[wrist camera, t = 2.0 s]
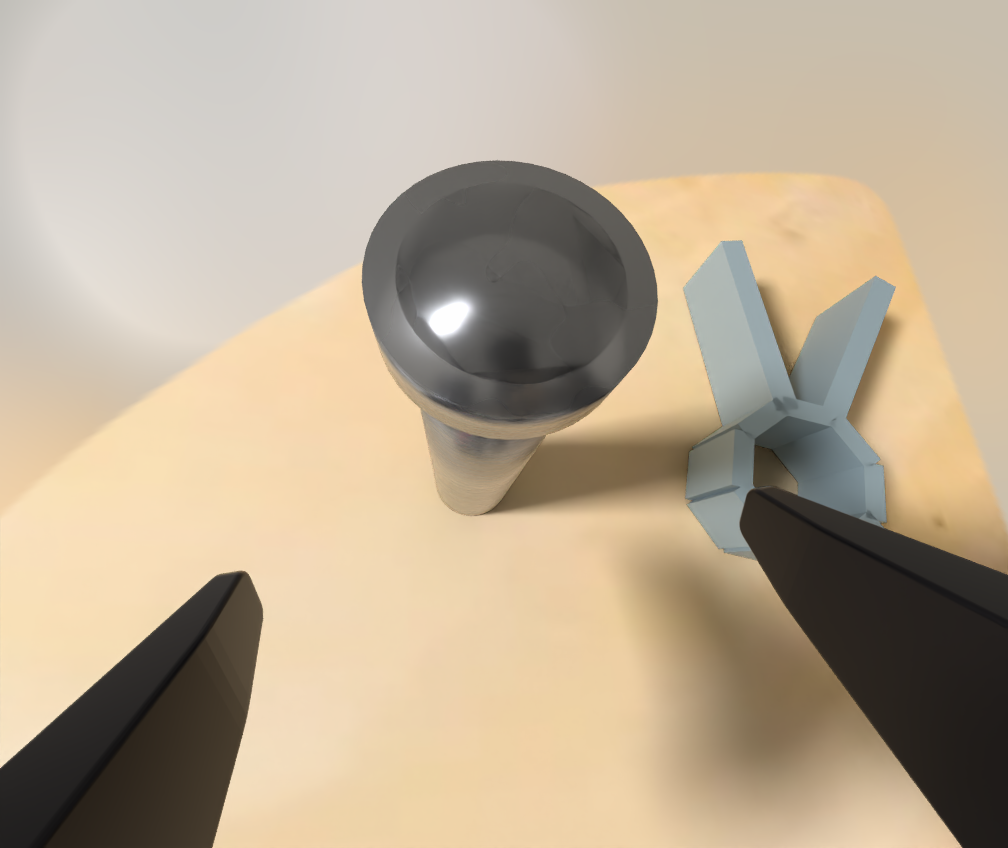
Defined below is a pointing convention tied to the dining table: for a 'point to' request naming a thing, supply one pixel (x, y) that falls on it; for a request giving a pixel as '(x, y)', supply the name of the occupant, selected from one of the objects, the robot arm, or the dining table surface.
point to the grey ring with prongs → (780, 399)
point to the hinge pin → (504, 314)
